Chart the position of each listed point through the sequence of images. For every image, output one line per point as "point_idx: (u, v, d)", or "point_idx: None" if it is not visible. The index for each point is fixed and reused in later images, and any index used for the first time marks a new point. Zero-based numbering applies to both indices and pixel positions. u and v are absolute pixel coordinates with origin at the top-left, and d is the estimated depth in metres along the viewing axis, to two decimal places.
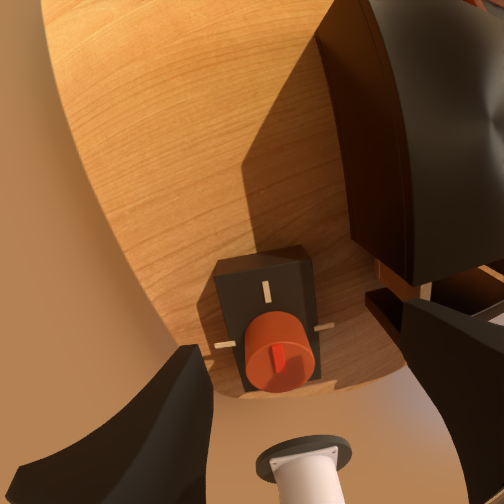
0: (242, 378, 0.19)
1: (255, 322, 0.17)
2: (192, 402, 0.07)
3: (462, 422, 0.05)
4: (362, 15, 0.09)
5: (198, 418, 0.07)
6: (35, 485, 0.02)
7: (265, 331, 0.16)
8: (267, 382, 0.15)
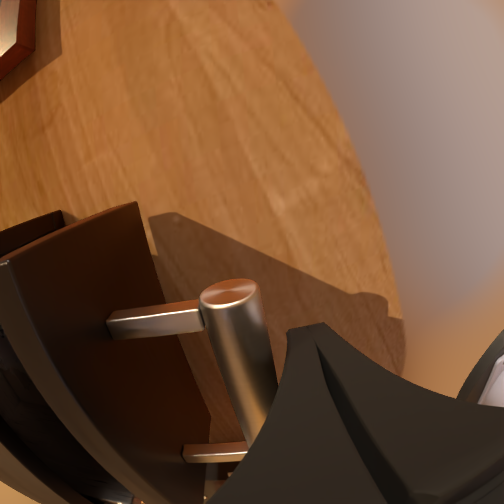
0: None
1: None
2: None
3: None
4: None
5: None
6: None
7: None
8: None
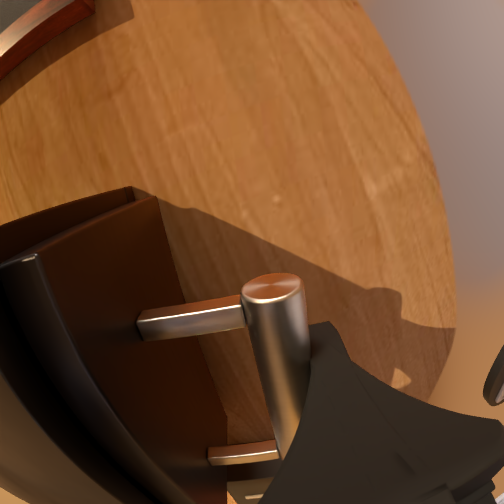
0: None
1: None
2: None
3: None
4: None
5: None
6: None
7: None
8: None
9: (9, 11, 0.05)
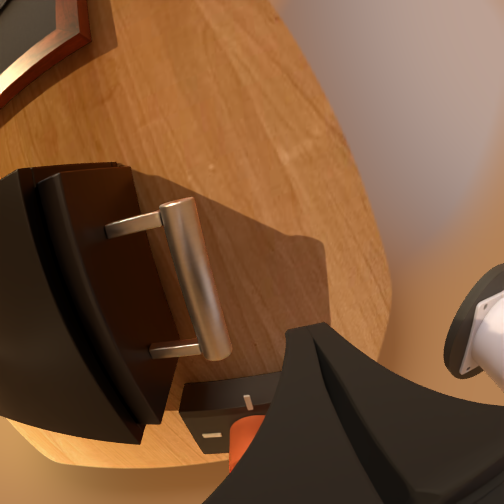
0: None
1: None
2: None
3: None
4: None
5: None
6: None
7: None
8: None
9: (26, 36, 0.10)
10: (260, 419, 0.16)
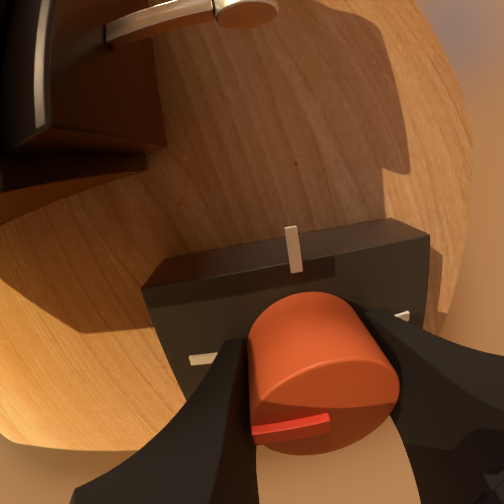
0: None
1: None
2: (245, 397, 0.07)
3: (417, 445, 0.05)
4: None
5: (249, 413, 0.07)
6: None
7: None
8: (358, 427, 0.06)
9: None
10: (318, 297, 0.08)
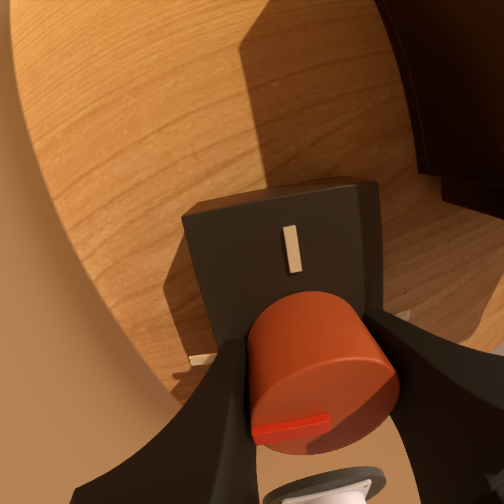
0: None
1: None
2: (245, 397, 0.07)
3: (417, 445, 0.05)
4: None
5: (249, 413, 0.07)
6: None
7: None
8: (358, 427, 0.06)
9: None
10: (317, 297, 0.08)
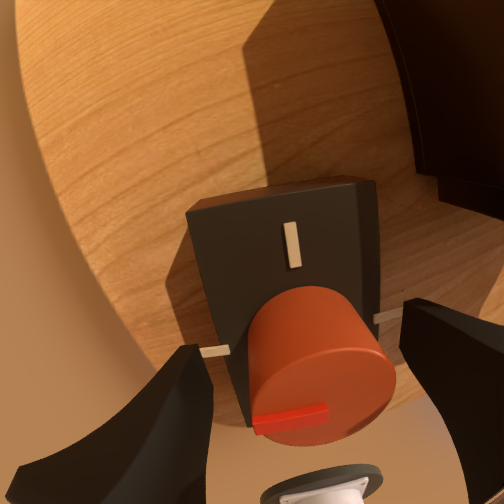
0: (243, 408, 0.11)
1: None
2: (192, 402, 0.07)
3: (462, 422, 0.05)
4: None
5: (198, 418, 0.07)
6: (35, 485, 0.02)
7: None
8: (355, 418, 0.07)
9: None
10: (315, 291, 0.09)
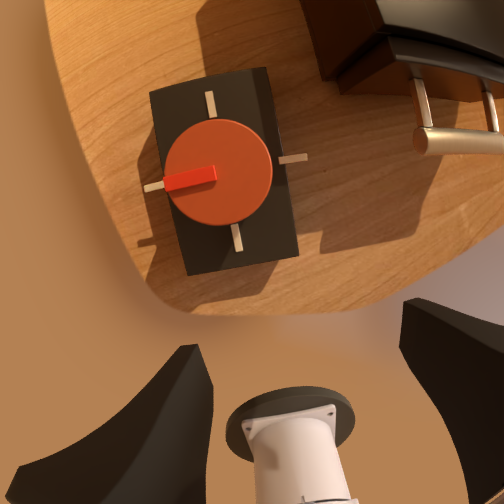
0: (182, 248, 0.14)
1: None
2: (192, 402, 0.07)
3: (462, 422, 0.05)
4: None
5: (198, 418, 0.07)
6: (34, 485, 0.02)
7: None
8: (244, 191, 0.10)
9: None
10: None
